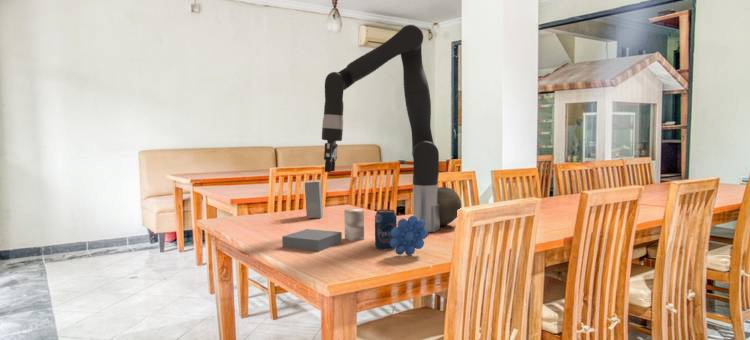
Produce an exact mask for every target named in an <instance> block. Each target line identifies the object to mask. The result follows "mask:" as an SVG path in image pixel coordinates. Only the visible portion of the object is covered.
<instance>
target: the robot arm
mask: <svg viewBox="0 0 750 340" xmlns="http://www.w3.org/2000/svg"><path fill="white" fill-rule="evenodd" d="M423 41H424V34H423V31H422V29H421V28H420V27H419V26H417V25H414V24H408V25H405V26H403V27H402V28H401V29H400V30H399V31H398V32H396V33H395V34H394V35H393V36H392V37H390V38H389V39H387V40H386V41H385V42H383V43H382V44H381V45H379V46H377V47H376V48H374V49H372V50H370V51H368V52H366V53H365V54H362V55H361V56H359V57H358V58H356V59H355V60H353V61H351V62H349V63H348V64H347V65H346V67H345V68H343V69H342V70H339V71H338V72H336V71H332V72H329V73H328V74H327V75H326V77H325V80H324V106H323V107H324V108H323V118H322V124H321V125H322V126H321V128H322V129H321V139H322V141H327V142H325V143H324V154H323V155H324V156H323V160H324V162H325V163H324V172H325V173H331V172H334V171H335V170H336V161H337V159H338V143H337V142H342V140H343V134H344V133H343V131H344V99H343V98H344V91H345V90H347V89H349V87H351V86H352V85H354V84H355V83H357V82H358V81H359V80H362V79H364V78H365V77H367V76H369V75H371V74H372V73H374V72H375V71H376V70H378V69H379V68H381V67H383V66H384V65H385V64H386V63H387V62H389V61H391V60H392V59H394V58H395V57H397V56H400V58H401V62H402V69H403V74H402V75H403V92H404V93H403V94H404V99H405V101H404V102H405V106H406V111H407V112H406V113H407V117H408V121H409V126H410V131H411V147H412V149H411V151H412V152H411V155H412V159H413V160H412V161H413V164H412V165H413V170H412V171H413V174H412V216H416V217H417V221H419V220H424V221H425V224H426V225H425V227H424V228H423V229H426V230H427V231H428V233H435V232H437V231H439V230H441V228H440V227H441V226H440V205H439V204H438V188H439V186H438V185H439V184H438V183H439V175H440V173H439V170H440V169H439V168H440V167H439V166H440V165H439V164H440V155H439V154H440V153H439V149H438V148H437V146H436V145H435V143H434V139H433V134H432V128H431V119H432V117H431V115H432V103H431V102H432V101H431V94H430V88H429V87H430V86H429V83H428V79H427V75H426V73H425V70H424V65H423V55H422V53H423V50H422V44H423Z"/></svg>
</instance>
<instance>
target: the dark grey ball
mask: <svg viewBox="0 0 750 340" xmlns="http://www.w3.org/2000/svg"><path fill="white" fill-rule="evenodd" d="M438 204H439V205H440V227H442V226H446V225H449V224H450V223H452V222H453V221H455V220H456V219H457V218H458V216H457V210H458V209H460V208H461V209H462V200H461V198H460V196H459V194H458V193H457V192H456V191H455V190H454V189H453V188H450V187H442V186H440V187H439V186H438Z"/></svg>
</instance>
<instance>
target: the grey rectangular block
mask: <svg viewBox="0 0 750 340" xmlns="http://www.w3.org/2000/svg"><path fill="white" fill-rule="evenodd" d="M304 193H305V194H304V196H305V210H306V212H305V213H306V219H321V218H322V217H323V216H324V207H323V195H322V194H323V191H322V180H311V181H309V180H308V181H305V182H304Z"/></svg>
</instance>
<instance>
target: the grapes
mask: <svg viewBox="0 0 750 340" xmlns="http://www.w3.org/2000/svg"><path fill="white" fill-rule="evenodd" d="M425 225H426V224H425V221H424V220H419V221H417V217H416V216H413V215H411V216H409V217H408V219H406V218H401V219H399V220H398V222H397V227H394V228H393V229H392V230H391V236H392V237H394V238H392V239H391V241H390V246H391V247H393V248H394V249H395V254H396V255H403V254H404V253H405V255H407V256H412V255H413V254H414V253H415V251H416V250H421V249H422V248H423V247H424V245H425V241H424V240H425V239H426V238H428V235H429V232H428V231H427V230H426V229H423V228H424V227H425Z"/></svg>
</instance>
